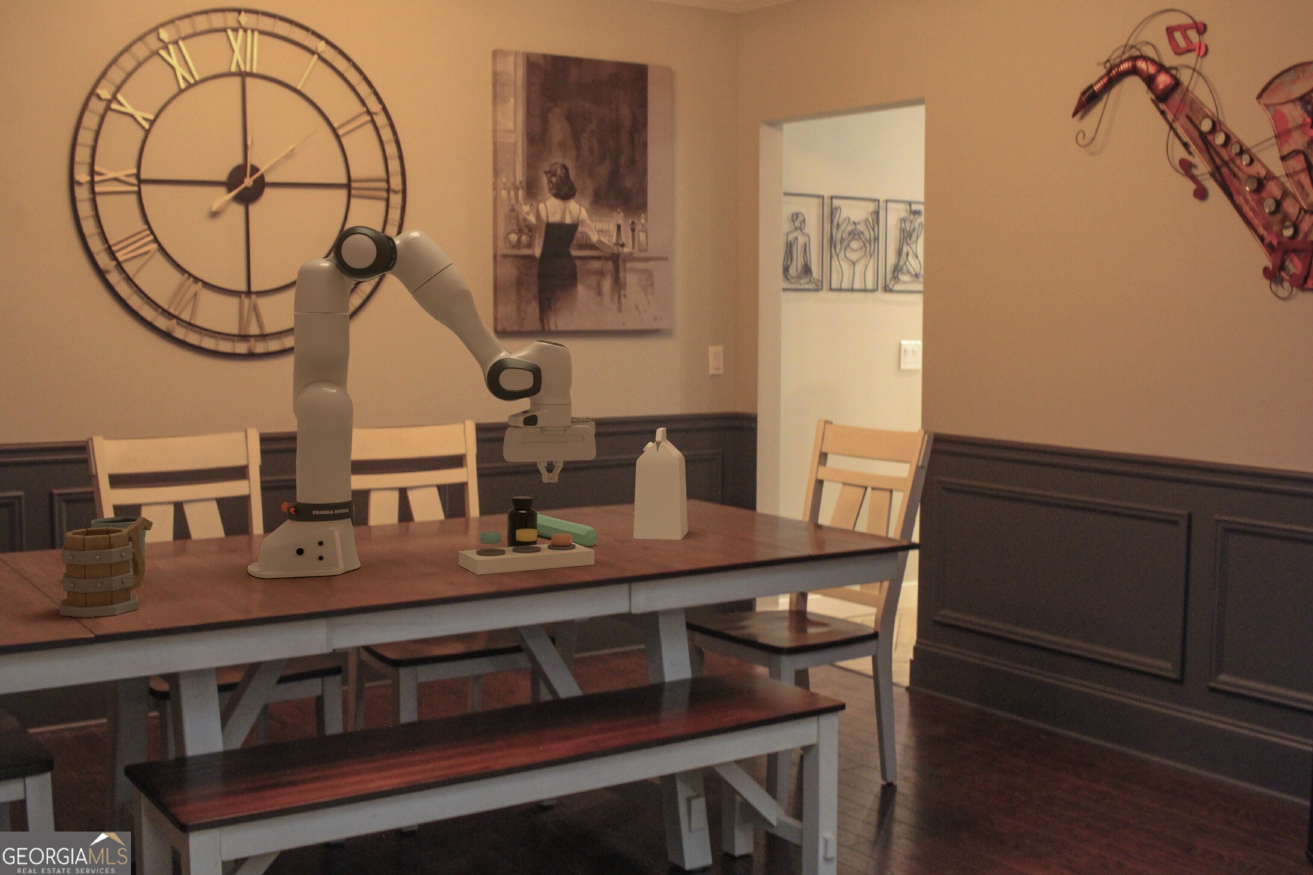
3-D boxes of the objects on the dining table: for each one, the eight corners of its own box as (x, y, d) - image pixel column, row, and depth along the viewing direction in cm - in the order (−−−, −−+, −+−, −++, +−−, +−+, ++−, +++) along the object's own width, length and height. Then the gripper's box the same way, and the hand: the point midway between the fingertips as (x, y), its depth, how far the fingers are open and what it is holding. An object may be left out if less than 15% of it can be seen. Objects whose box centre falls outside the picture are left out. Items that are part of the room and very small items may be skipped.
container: (597, 521, 294) (538, 507, 314) (578, 532, 291) (519, 518, 311) (605, 543, 296) (546, 528, 316) (586, 555, 293) (527, 539, 313)
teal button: (484, 544, 264) (484, 535, 264) (477, 541, 268) (477, 532, 268) (504, 543, 266) (504, 533, 266) (497, 539, 270) (497, 530, 270)
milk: (681, 539, 305) (681, 430, 303) (633, 538, 307) (633, 430, 304) (687, 531, 317) (688, 427, 314) (641, 530, 318) (642, 426, 316)
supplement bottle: (532, 552, 286) (532, 499, 285) (503, 551, 287) (502, 498, 286) (541, 547, 292) (541, 495, 291) (512, 546, 294) (512, 494, 293)
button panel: (477, 574, 260) (477, 557, 260) (458, 565, 270) (458, 548, 270) (594, 564, 272) (594, 547, 271) (571, 555, 282) (571, 539, 282)
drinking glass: (89, 585, 248) (87, 524, 247) (96, 575, 258) (94, 516, 257) (145, 582, 251) (143, 522, 250) (150, 573, 260) (149, 514, 259)
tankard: (99, 620, 218) (96, 533, 217) (43, 614, 223) (40, 528, 222) (182, 597, 237) (180, 517, 235) (129, 592, 241) (127, 513, 240)
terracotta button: (556, 546, 271) (555, 537, 271) (548, 543, 275) (548, 534, 275) (575, 544, 273) (575, 535, 273) (566, 541, 277) (566, 532, 277)
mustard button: (520, 541, 268) (520, 532, 268) (513, 538, 272) (513, 529, 271) (540, 540, 270) (540, 530, 270) (532, 537, 274) (532, 528, 273)
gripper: (589, 415, 279) (588, 478, 280) (500, 416, 269) (500, 482, 270) (601, 417, 273) (600, 481, 274) (511, 418, 264) (510, 485, 265)
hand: (549, 482), depth 272 cm, fingers closed
